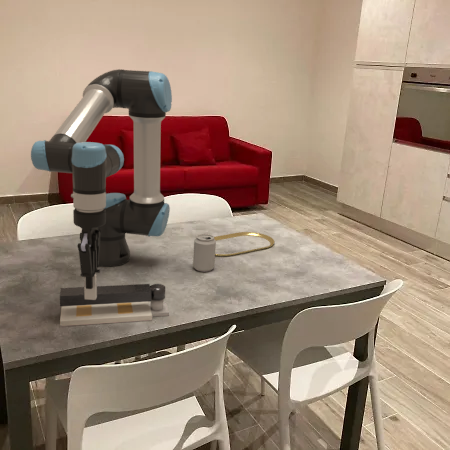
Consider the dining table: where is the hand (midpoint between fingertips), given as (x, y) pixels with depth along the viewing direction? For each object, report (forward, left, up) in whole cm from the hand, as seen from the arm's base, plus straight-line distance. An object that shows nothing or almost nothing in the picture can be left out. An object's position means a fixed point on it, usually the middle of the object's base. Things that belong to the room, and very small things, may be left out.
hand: (90, 298), depth 125 cm
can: (-38, +38, -10) cm, 55 cm away
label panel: (-9, +7, -10) cm, 15 cm away
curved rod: (-60, +56, -11) cm, 83 cm away
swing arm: (-9, +6, -5) cm, 12 cm away
